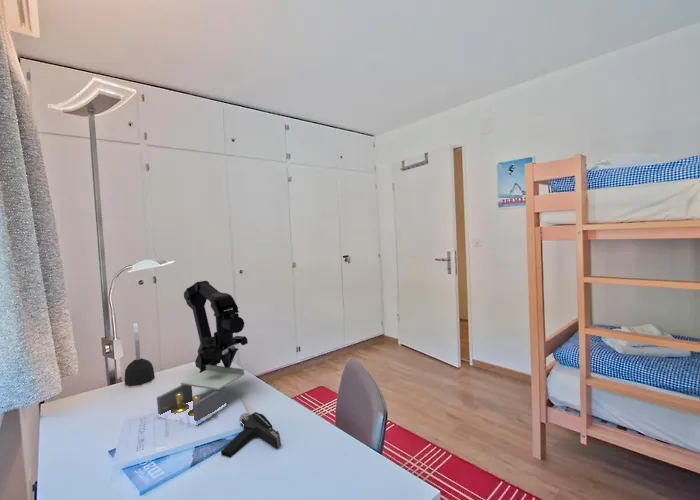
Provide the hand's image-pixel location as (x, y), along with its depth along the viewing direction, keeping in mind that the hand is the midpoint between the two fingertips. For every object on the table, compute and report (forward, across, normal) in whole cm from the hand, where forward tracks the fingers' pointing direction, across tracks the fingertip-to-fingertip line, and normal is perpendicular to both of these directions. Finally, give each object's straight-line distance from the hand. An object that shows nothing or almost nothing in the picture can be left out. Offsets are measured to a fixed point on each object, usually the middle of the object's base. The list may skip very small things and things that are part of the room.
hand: (227, 369), depth 133 cm
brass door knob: (+8, +19, -4) cm, 21 cm away
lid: (+1, +7, 0) cm, 8 cm away
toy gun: (+9, +25, +27) cm, 38 cm away
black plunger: (+9, +3, -44) cm, 45 cm away
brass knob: (+8, +19, +4) cm, 21 cm away
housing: (+8, +17, 0) cm, 19 cm away
